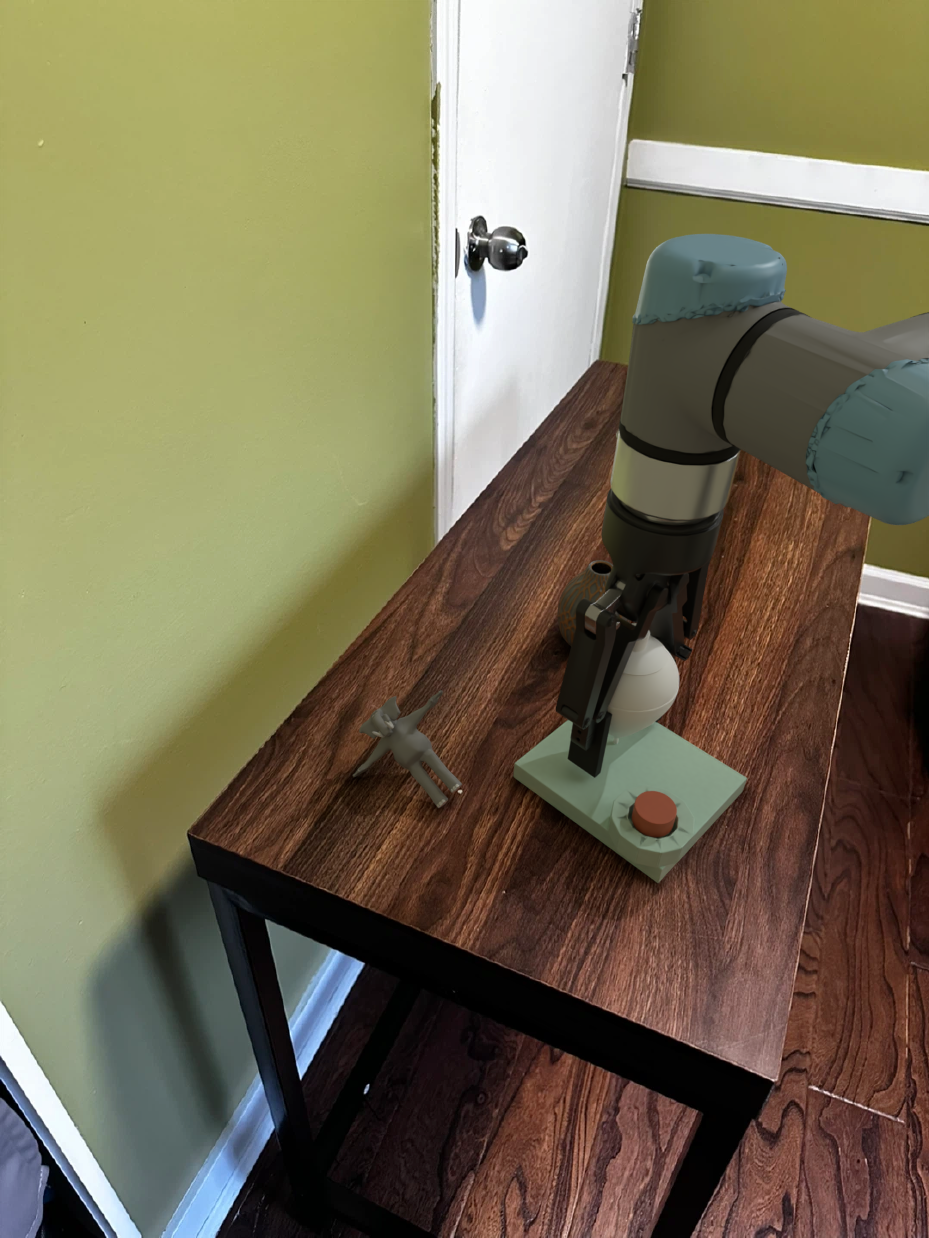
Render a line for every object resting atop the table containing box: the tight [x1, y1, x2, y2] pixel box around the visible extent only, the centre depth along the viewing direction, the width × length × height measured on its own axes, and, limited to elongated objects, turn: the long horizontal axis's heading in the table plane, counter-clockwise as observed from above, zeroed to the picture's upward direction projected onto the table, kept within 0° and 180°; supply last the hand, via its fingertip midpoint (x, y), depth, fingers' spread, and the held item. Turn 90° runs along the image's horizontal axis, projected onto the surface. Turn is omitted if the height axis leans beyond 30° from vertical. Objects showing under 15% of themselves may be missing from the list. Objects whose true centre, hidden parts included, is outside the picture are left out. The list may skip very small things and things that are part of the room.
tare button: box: [632, 791, 677, 837], centre depth 62 cm, size 3×3×2 cm
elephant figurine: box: [352, 690, 463, 809], centre depth 67 cm, size 10×6×9 cm
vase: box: [556, 559, 632, 647], centre depth 80 cm, size 7×7×9 cm
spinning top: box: [607, 622, 680, 744], centre depth 66 cm, size 8×8×12 cm
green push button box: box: [512, 719, 748, 884], centre depth 67 cm, size 14×13×4 cm
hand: (615, 737), depth 70 cm, fingers open, 8 cm apart
